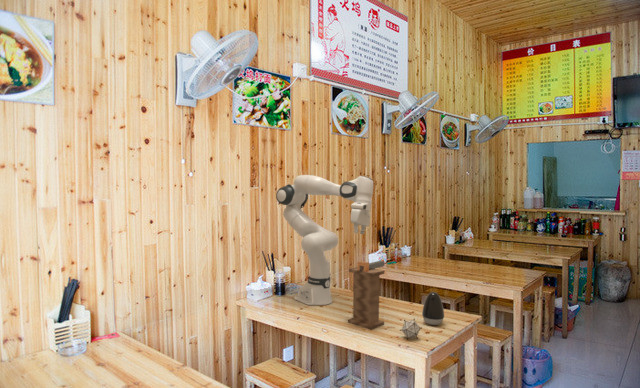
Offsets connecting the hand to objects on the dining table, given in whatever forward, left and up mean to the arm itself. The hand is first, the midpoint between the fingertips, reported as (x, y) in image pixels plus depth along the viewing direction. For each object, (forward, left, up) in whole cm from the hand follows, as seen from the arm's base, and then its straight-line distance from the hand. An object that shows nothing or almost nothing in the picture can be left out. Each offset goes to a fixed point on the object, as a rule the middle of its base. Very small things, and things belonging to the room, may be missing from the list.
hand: (358, 233), depth 223 cm
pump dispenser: (+37, +11, -41) cm, 56 cm away
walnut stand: (+14, -12, -41) cm, 45 cm away
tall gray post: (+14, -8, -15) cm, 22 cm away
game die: (+39, -13, -41) cm, 58 cm away
